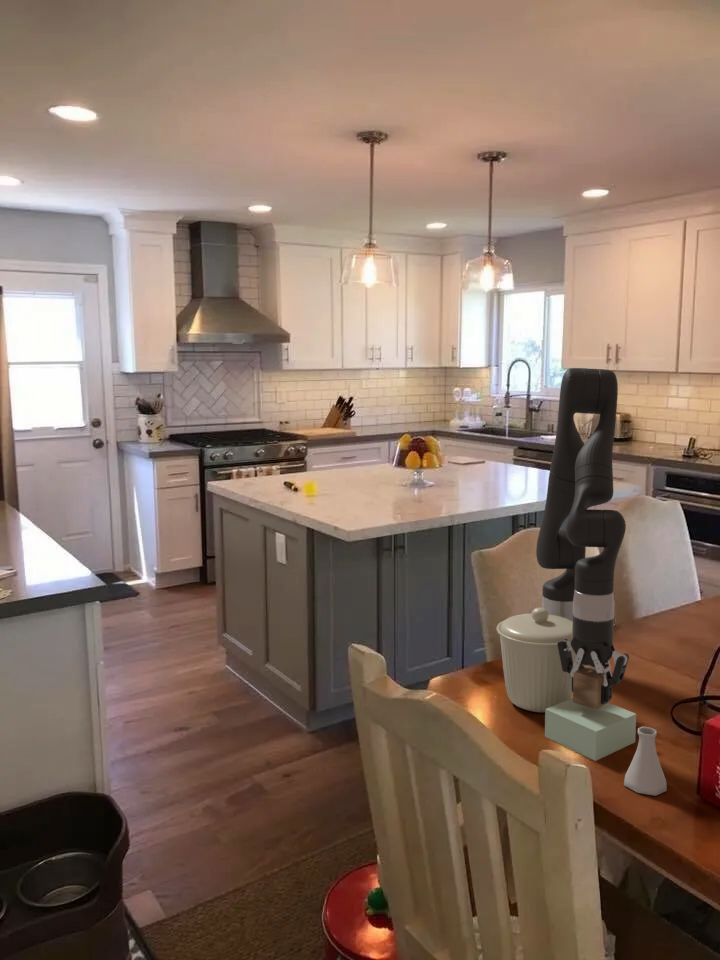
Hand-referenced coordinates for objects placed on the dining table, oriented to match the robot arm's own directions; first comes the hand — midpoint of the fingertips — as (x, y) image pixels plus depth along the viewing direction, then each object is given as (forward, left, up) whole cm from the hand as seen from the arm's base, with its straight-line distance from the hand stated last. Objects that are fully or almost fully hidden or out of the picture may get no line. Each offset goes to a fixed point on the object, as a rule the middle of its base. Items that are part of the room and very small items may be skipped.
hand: (591, 698), depth 150 cm
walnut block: (0, 0, -1) cm, 1 cm away
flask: (+15, -9, -9) cm, 19 cm away
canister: (-16, +8, -9) cm, 20 cm away
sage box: (0, 0, -9) cm, 9 cm away
